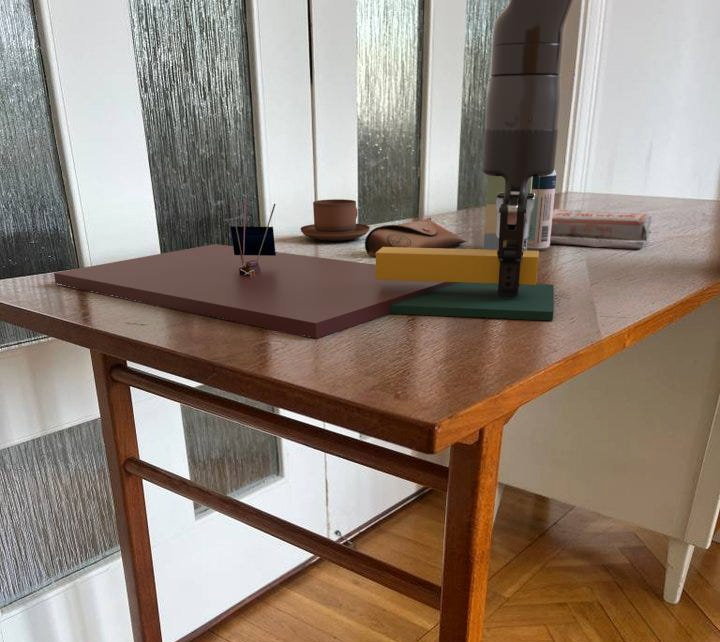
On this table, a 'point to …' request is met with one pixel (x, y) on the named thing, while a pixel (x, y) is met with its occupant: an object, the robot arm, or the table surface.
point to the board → (253, 284)
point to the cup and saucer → (335, 221)
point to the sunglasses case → (411, 236)
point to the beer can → (541, 212)
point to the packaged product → (600, 229)
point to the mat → (481, 302)
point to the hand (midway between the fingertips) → (508, 291)
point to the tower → (495, 211)
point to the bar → (449, 265)
